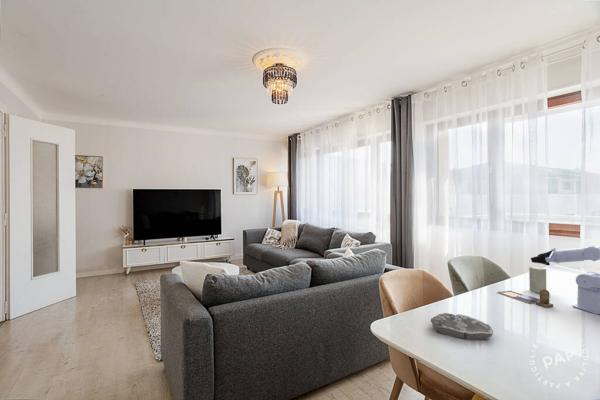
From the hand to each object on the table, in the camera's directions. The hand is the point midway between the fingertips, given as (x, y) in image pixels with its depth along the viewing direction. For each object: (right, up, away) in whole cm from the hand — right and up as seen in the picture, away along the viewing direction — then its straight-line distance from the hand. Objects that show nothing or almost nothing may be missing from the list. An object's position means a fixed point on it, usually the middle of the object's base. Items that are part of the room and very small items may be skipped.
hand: (535, 258), depth 149 cm
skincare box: (+6, -18, +6) cm, 20 cm away
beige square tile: (-11, -18, +1) cm, 21 cm away
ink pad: (-9, -18, -7) cm, 21 cm away
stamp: (-6, -18, -14) cm, 24 cm away
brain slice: (-58, -19, -39) cm, 73 cm away
